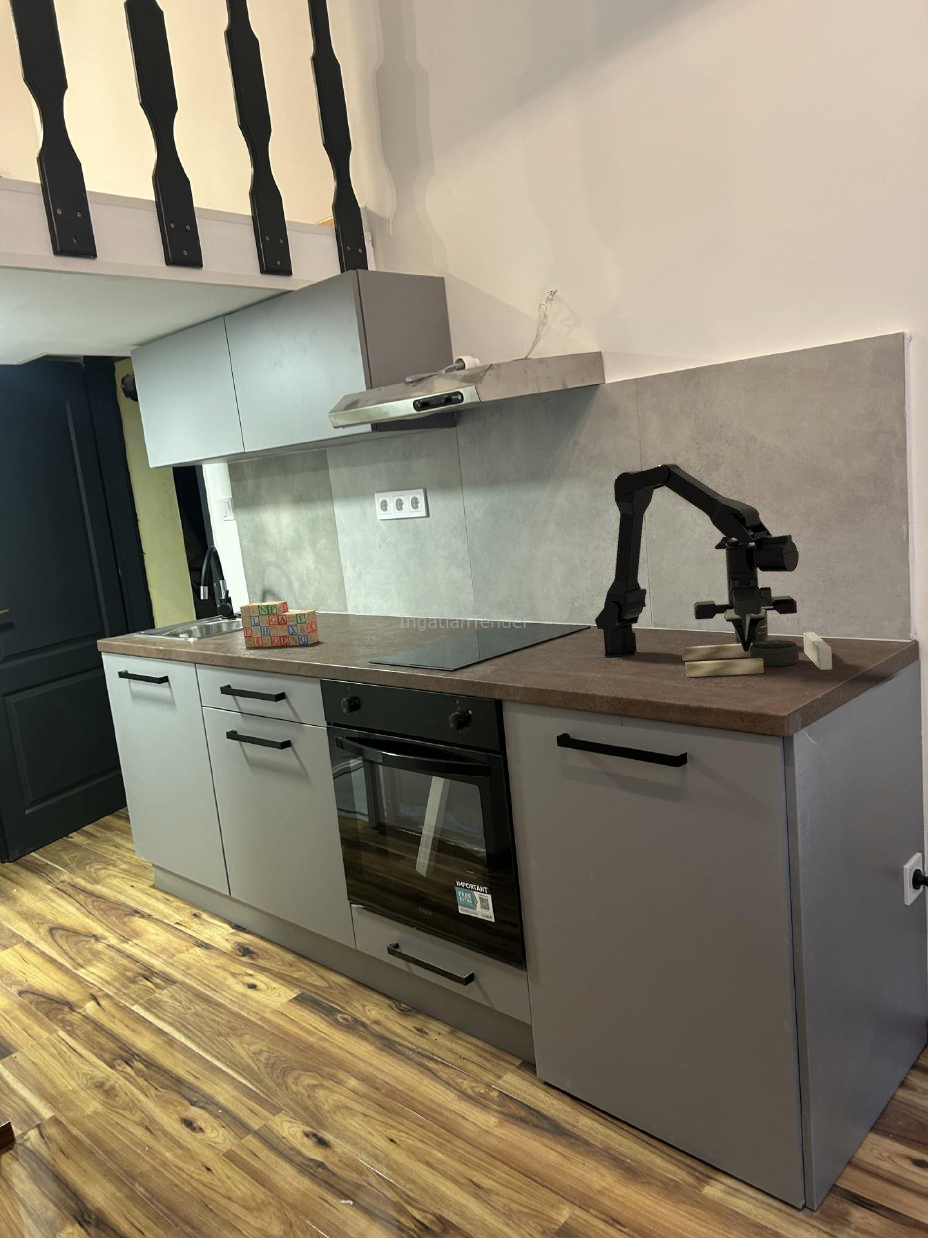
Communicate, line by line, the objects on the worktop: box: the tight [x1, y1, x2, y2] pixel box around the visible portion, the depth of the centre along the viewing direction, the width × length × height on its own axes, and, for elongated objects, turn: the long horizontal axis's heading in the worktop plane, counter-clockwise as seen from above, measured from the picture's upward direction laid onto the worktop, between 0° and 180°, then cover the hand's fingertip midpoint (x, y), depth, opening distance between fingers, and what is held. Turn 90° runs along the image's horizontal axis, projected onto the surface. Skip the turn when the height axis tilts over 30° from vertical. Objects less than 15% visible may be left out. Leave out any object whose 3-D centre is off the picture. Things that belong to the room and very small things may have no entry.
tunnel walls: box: [681, 643, 765, 678], centre depth 178 cm, size 14×17×2 cm
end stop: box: [802, 631, 833, 671], centre depth 174 cm, size 2×17×4 cm, turn 169°
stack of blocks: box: [239, 600, 320, 648], centre depth 261 cm, size 21×6×12 cm, turn 69°
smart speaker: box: [749, 639, 800, 668], centre depth 176 cm, size 9×9×4 cm
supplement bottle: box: [733, 611, 769, 644], centre depth 193 cm, size 7×7×12 cm
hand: (746, 651), depth 177 cm, fingers closed
